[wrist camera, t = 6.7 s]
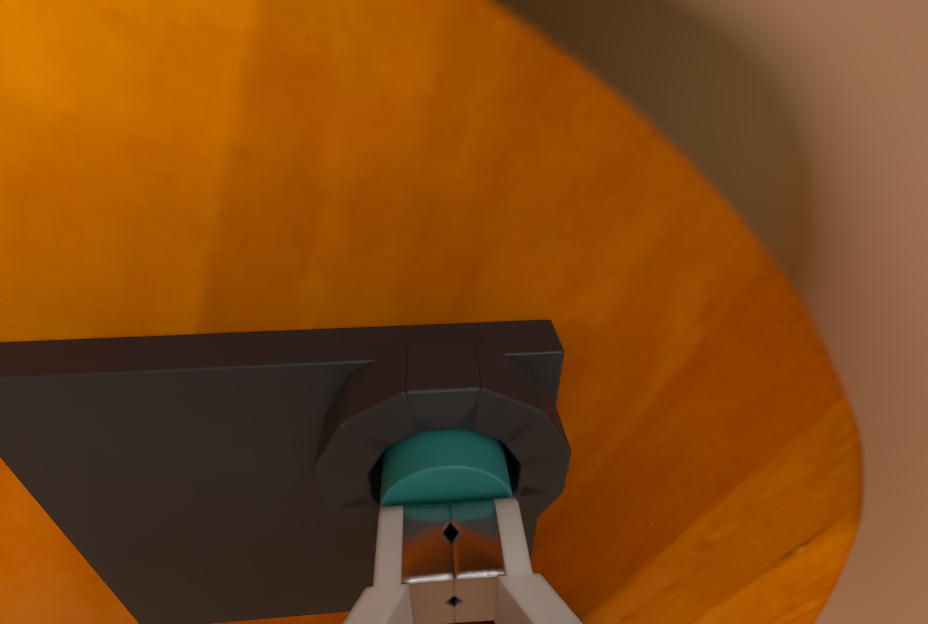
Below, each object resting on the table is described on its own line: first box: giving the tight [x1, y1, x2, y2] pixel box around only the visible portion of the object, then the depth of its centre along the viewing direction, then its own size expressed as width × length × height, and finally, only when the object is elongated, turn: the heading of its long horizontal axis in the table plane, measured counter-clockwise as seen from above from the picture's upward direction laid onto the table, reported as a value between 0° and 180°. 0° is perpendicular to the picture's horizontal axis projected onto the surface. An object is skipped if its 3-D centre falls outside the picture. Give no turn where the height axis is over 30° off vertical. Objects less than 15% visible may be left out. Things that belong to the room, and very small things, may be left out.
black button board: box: [0, 320, 571, 624], centre depth 14 cm, size 14×12×3 cm
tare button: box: [379, 429, 513, 512], centre depth 11 cm, size 3×3×2 cm
